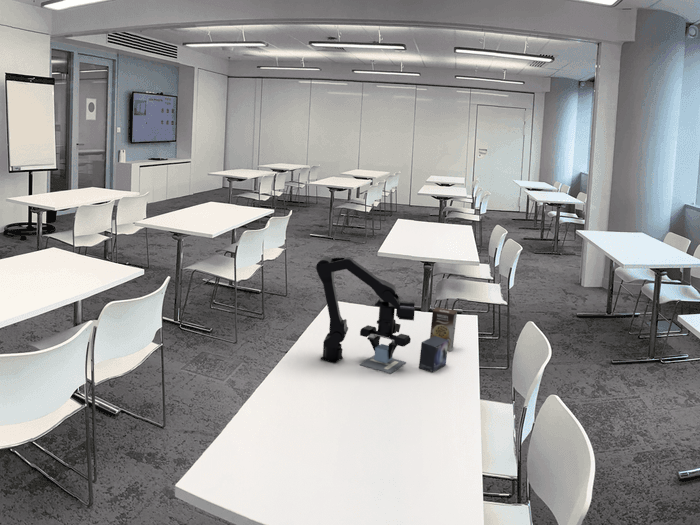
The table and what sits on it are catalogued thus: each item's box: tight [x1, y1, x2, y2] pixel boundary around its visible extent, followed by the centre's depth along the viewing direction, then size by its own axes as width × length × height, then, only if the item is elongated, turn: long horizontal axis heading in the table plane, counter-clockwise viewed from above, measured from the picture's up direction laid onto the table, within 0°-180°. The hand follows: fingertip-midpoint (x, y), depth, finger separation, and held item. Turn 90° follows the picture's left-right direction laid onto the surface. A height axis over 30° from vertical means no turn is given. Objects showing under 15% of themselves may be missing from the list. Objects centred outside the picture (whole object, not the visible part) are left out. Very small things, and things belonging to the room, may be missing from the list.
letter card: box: [359, 354, 407, 375], centre depth 220 cm, size 13×13×1 cm
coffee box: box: [429, 306, 458, 352], centre depth 240 cm, size 9×6×16 cm
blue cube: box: [374, 343, 394, 363], centre depth 220 cm, size 5×5×5 cm
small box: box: [418, 336, 449, 373], centre depth 220 cm, size 11×6×10 cm, turn 143°
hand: (383, 357), depth 220 cm, fingers closed on blue cube, 5 cm apart
